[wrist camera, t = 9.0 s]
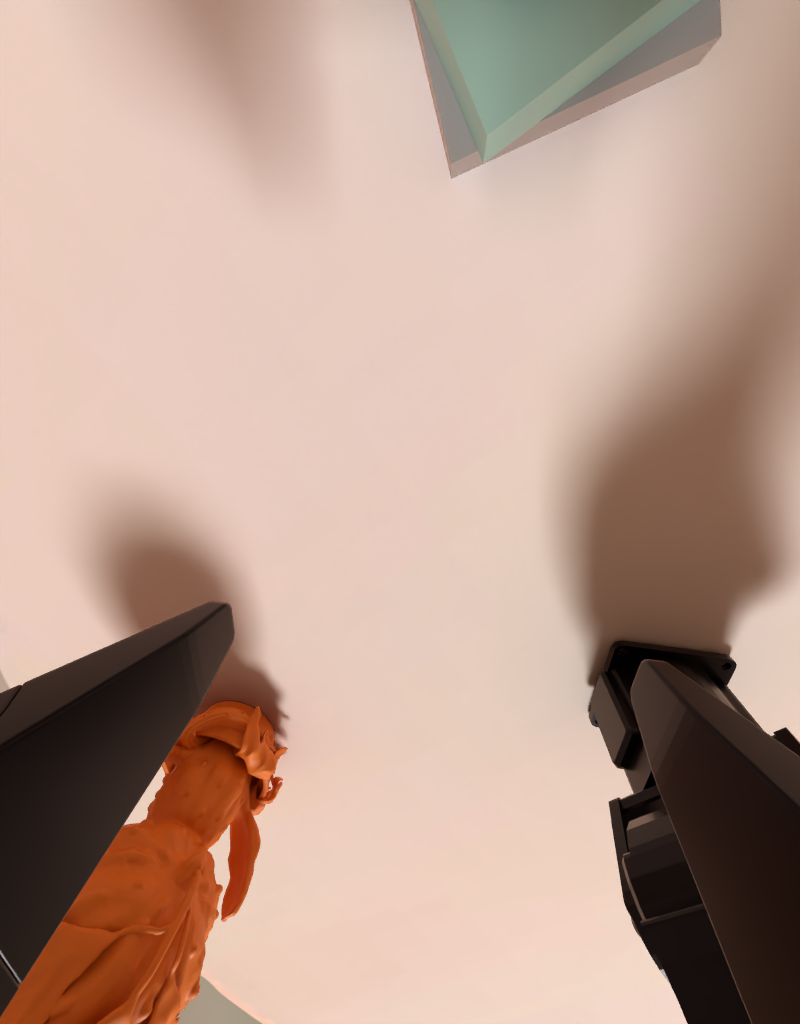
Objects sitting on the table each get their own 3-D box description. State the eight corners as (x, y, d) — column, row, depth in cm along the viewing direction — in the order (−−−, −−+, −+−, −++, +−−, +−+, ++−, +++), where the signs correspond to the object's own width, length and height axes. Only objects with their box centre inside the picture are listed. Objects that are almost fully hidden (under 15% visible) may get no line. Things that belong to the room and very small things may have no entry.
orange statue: (144, 707, 31) (-221, 1114, 14) (233, 652, 27) (-113, 1110, 11) (240, 792, 33) (24, 1225, 17) (333, 753, 30) (177, 1251, 13)
